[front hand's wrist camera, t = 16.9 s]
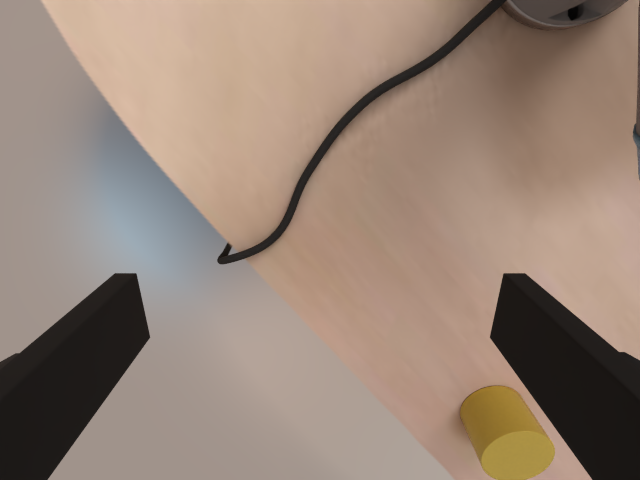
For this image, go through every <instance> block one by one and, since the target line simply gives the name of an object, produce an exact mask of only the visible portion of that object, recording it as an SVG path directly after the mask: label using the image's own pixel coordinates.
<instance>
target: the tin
mask: <svg viewBox="0 0 640 480" xmlns="http://www.w3.org/2000/svg"><path fill="white" fill-rule="evenodd" d="M460 417H461V420H462V422H463V425H464V427H465V429H466V431H467V434H468V436H469V438H470V441H471V443H472V445H473V447H474V450H475V452H476V454H477V457H478V459H479V461H480V463H481V466H482V468H483V470H484V471H485V472H486V473H487V474H488V475H489V476H491V477H492V478H494V479H497V480H526V479H529V478H532V477H534V476H536V475H538V474H540V473H541V472H543V471H544V470H545V469H546V468H547V467H548V466H549V465H550V464H551V462H552V460H553V458H554V455H555V448H554V445H553V443H552V441H551V440H550V438H549V437H548V435H547V434H546V432H545V431H544V429H543V428H542V426H541V425H540V423H539V422H538V421H537V419H536V418H535V416H534V415H533V413H532V412H531V410H530V409H529V407H528V406H527V404H526V403H525V401H524V400H523V398H522V397H521V395H520V394H519V393H518V392H516V391H515V390H513V389H511V388H509V387H505V386H490V387H485V388H482V389H480V390H477V391H476V392H474V393H472V394H471V395H470V396H469V397H468V398H467V399H466V400H465V401H464V403H463V404H462V407H461V410H460Z"/></svg>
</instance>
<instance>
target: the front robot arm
mask: <svg viewBox="0 0 640 480" xmlns="http://www.w3.org/2000/svg"><path fill="white" fill-rule="evenodd" d="M626 1H628V0H492V1H491V2H490V3H489V4H488V5H487V6H486V7H485V8H483V9H482V10H481V11H480V12H479V13H478V14H477V15H476V16H475V17H474V18H473V19H472V20H471V21H469V22H468V23H467V24H466V25H465V26H464V27H463V28H462V29H461V30H460V31H459V32H458V33H457V34H456V35H455V36H454V37H453V38H452V39H451V40H450V41H449V42H447V43H446V44H445V45H444V46H443V47H441V48H440V49H439V50H438V51H436V52H435V53H434V54H432V55H431V56H429V57H428V58H426V59H425V60H423V61H422V62H420V63H418V64H417V65H415V66H413V67H411V68H409V69H408V70H406V71H404V72H402V73H400V74H398V75H396V76H394V77H393V78H391V79H389V80H387V81H385V82H384V83H382V84H381V85H379V86H377V87H376V88H375V89H373V90H372V91H370V92H369V93H368V94H366V95H365V96H364V97H363V98H362V99H361V100H359V101H358V102H357V103H356V104H355V105H354V106H353V107H352V108H351V109H350V110H349V111H348V112H347V113H346V114H345V115H344V116H343V117H342V118H341V120H340V121H339V122H338V123H337V124H336V125H335V127H334V128H333V129H332V130H331V132H330V133H329V134H328V136H327V137H326V138H325V140H324V141H323V143H322V144H321V146H320V147H319V149H318V150H317V152H316V153H315V155H314V156H313V158H312V159H311V161H310V162H309V164H308V166H307V167H306V169H305V170H304V172H303V174H302V175H301V177H300V179H299V181H298V183H297V186H296V188H295V191H294V193H293V196H292V198H291V201H290V204H289V207H288V209H287V212H286V214H285V216H284V218H283V220H282V222H281V223H280V225H279V226H278V228H277V229H276V230H275V231H274V232H273V233H272V234H271V235H270V236H269V237H268V238H267V239H266V240H264V241H263V242H261V243H260V244H258V245H256V246H254V247H252V248H250V249H247V250H245V251H242V252H239V253H236V254H232V255H229V252H230V250H231V248H232V245H231V244H229V243H227V245H226V246H225V248H224V250H223V252H222V253H221V254H220V256H219V257H218V259H217V262H218V263H219V264H227V263H231V262H235V261H238V260H242V259H245V258H247V257H250V256H252V255H255V254H257V253H259V252H261V251H263V250H264V249H266V248H267V247H269V246H270V245H272V244H273V243H274V242H275V241H276V240H277V239H278V238H279V237H280V236H281V235H282V233H283V232H284V231H285V229H286V228H287V226H288V225H289V223H290V221H291V219H292V217H293V215H294V212H295V210H296V207H297V204H298V202H299V199H300V196H301V194H302V191H303V189H304V187H305V185H306V183H307V181H308V179H309V178H310V176H311V174H312V173H313V171H314V170H315V168H316V167H317V165H318V164H319V162H320V161H321V159H322V158H323V156H324V155H325V153H326V152H327V150H328V149H329V147H330V146H331V144H332V143H333V142H334V140H335V139H336V138H337V136H338V135H339V134H340V133H341V131H342V130H343V129H344V128H345V127H346V126H347V125H348V123H349V122H350V121H351V120H352V119H353V118H354V117H355V116H356V115H357V114H358V113H359V112H360V111H361V110H363V109H364V108H365V107H366V106H367V105H368V104H369V103H371V102H372V101H373V100H375V99H376V98H377V97H379V96H380V95H382V94H383V93H385V92H386V91H388V90H390V89H391V88H393V87H395V86H397V85H399V84H401V83H402V82H404V81H406V80H408V79H410V78H412V77H414V76H416V75H417V74H419V73H421V72H423V71H424V70H426V69H428V68H429V67H431V66H432V65H434V64H435V63H437V62H438V61H439V60H441V59H442V58H444V57H445V56H446V55H447V54H449V53H450V52H451V51H452V50H453V49H455V48H456V47H457V46H458V45H459V44H460V43H461V42H462V41H463V40H464V39H465V38H466V37H467V36H468V35H470V34H471V33H472V32H473V31H474V30H475V29H476V28H477V27H478V26H479V25H480V24H481V23H483V22H484V21H485V20H486V19H487V18H488V17H489V16H490V15H491V14H492V13H494V12H495V11H496V10H497V9H498V8H499V7H500V6H501V7H502V8H503V9H504V10H505V11H506V12H507V13H508V14H509V15H510V16H511V17H513V18H514V19H516V20H517V21H519V22H521V23H523V24H524V25H527V26H530V27H533V28H537V29H543V30H559V29H566V28H570V27H574V26H578V25H581V24H584V23H587V22H591V21H594V20H596V19H598V18H601V17H603V16H605V15H607V14H609V13H610V12H612V11H614V10H615V9H617V8H618V7H620V6H621V5H623V4H624V3H625V2H626ZM639 6H640V3H639ZM633 139H634V142H635V144H636V146H637V155H638V174H639V180H640V7H639V15H638V91H637V117H636V124H635V125H634V129H633ZM149 338H150V335H149V330H148V325H147V321H146V316H145V311H144V307H143V302H142V298H141V293H140V288H139V284H138V279H137V274H136V273H130V274H129V273H115V274H114V275H113V276H111V277H110V278H109V279H108V280H107V281H105V282H104V283H103V284H102V285H101V286H99V287H98V288H97V289H96V290H95V291H93V292H92V293H91V294H90V295H89V296H88V297H86V298H85V299H84V300H83V301H81V302H80V303H79V304H78V305H77V306H75V307H74V308H73V309H72V310H71V311H70V312H68V313H67V314H66V315H65V316H64V317H62V318H61V319H60V320H59V321H58V322H56V323H55V324H54V325H53V326H52V327H50V328H49V329H48V330H47V331H46V332H44V333H43V334H42V335H41V336H40V337H39V338H37V339H36V340H35V341H34V342H33V343H31V344H30V345H29V346H28V347H27V348H25V349H24V350H23V351H22V352H21V353H16V354H14V355H12V356H10V357H8V358H7V359H5V360H3V361H1V362H0V480H48V478H49V477H50V475H51V474H52V473H53V471H54V470H55V469H56V467H57V466H58V464H59V463H60V462H61V460H62V459H63V457H64V456H65V455H66V453H67V452H68V451H69V449H70V448H71V446H72V445H73V444H74V442H75V441H76V439H77V438H78V437H79V435H80V434H81V432H82V431H83V430H84V428H85V427H86V426H87V424H88V423H89V421H90V420H91V419H92V417H93V416H94V414H95V413H96V412H97V410H98V409H99V407H100V406H101V405H102V403H103V402H104V401H105V399H106V398H107V396H108V395H109V394H110V392H111V391H112V389H113V388H114V387H115V385H116V384H117V383H118V381H119V380H120V378H121V377H122V376H123V374H124V373H125V371H126V370H127V369H128V367H129V366H130V365H131V363H132V362H133V360H134V359H135V358H136V356H137V355H138V353H139V352H140V351H141V349H142V348H143V347H144V345H145V344H146V342H147V341H148V340H149ZM490 338H491V340H492V341H493V342H494V344H495V345H496V347H497V348H498V349H499V351H500V352H501V353H502V355H503V356H504V358H505V359H506V360H507V362H508V363H509V365H510V366H511V367H512V369H513V370H514V371H515V373H516V374H517V376H518V377H519V378H520V380H521V381H522V383H523V384H524V385H525V387H526V388H527V389H528V391H529V392H530V394H531V395H532V396H533V398H534V399H535V401H536V402H537V403H538V405H539V406H540V408H541V409H542V410H543V412H544V413H545V414H546V416H547V417H548V419H549V420H550V421H551V423H552V424H553V426H554V427H555V428H556V430H557V431H558V432H559V434H560V435H561V437H562V438H563V439H564V441H565V442H566V444H567V445H568V446H569V448H570V449H571V451H572V452H573V453H574V455H575V456H576V457H577V459H578V460H579V462H580V463H581V464H582V466H583V467H584V469H585V470H586V471H587V473H588V474H589V475H590V477H591V478H592V480H640V360H638V359H636V358H634V357H632V356H631V355H629V354H627V353H625V352H618V351H617V350H616V349H615V348H613V347H612V346H611V345H610V344H609V343H608V342H606V341H605V340H604V339H603V338H602V337H600V336H599V335H598V334H597V333H596V332H594V331H593V330H592V329H591V328H590V327H588V326H587V325H586V324H585V323H584V322H582V321H581V320H580V319H579V318H578V317H576V316H575V315H574V314H573V313H572V312H570V311H569V310H568V309H567V308H566V307H565V306H563V305H562V304H561V303H560V302H559V301H557V300H556V299H555V298H554V297H553V296H551V295H550V294H549V293H548V292H547V291H545V290H544V289H543V288H542V287H541V286H539V285H538V284H537V283H536V282H535V281H533V280H532V279H531V278H530V277H529V276H527V275H526V274H525V273H504V274H503V279H502V283H501V288H500V293H499V297H498V302H497V307H496V311H495V316H494V321H493V325H492V330H491V335H490Z"/></svg>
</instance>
